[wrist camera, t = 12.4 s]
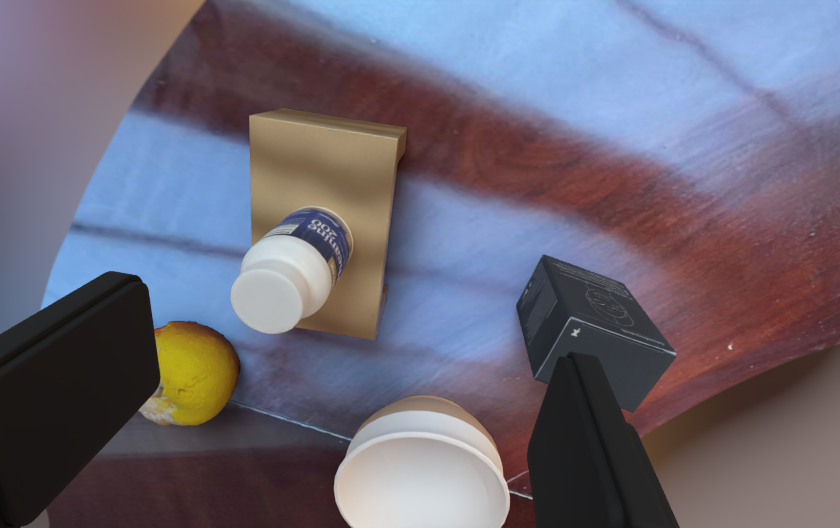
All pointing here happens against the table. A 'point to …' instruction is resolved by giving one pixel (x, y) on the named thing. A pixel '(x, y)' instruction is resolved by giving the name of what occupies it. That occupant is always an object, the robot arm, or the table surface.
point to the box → (591, 329)
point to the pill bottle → (292, 270)
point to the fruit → (191, 374)
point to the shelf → (331, 200)
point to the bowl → (422, 470)
